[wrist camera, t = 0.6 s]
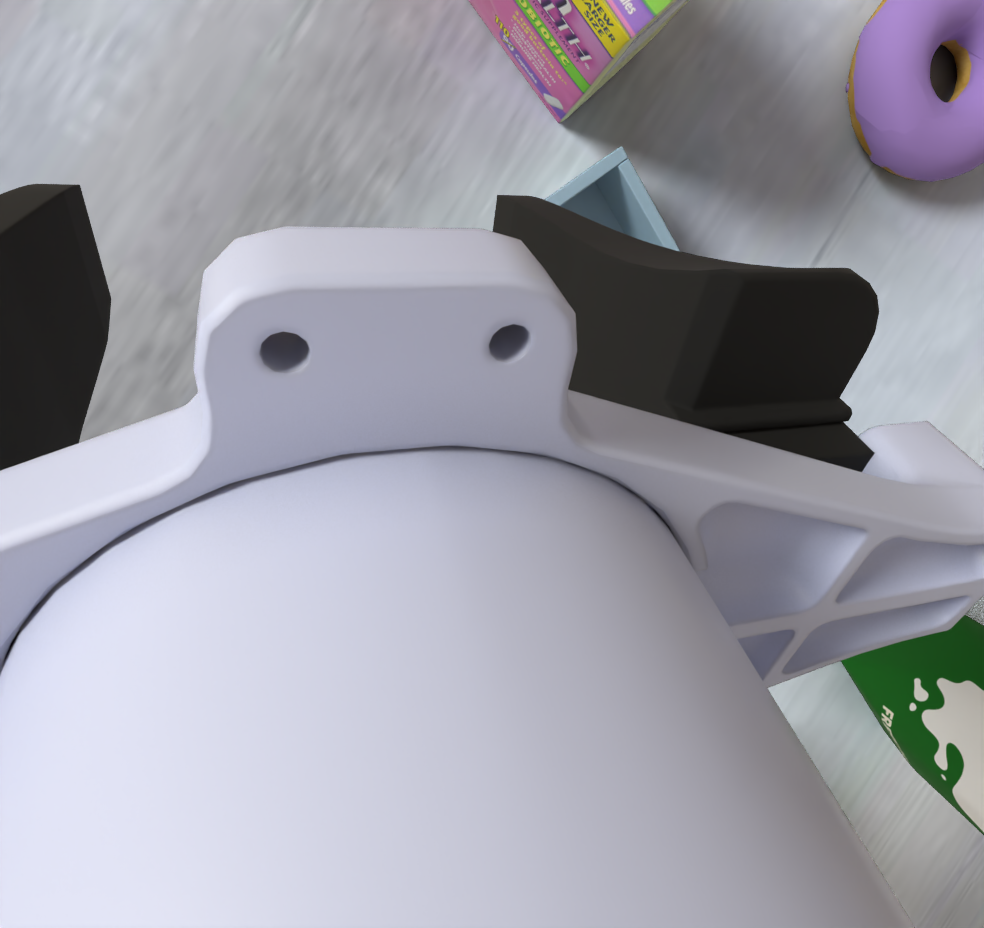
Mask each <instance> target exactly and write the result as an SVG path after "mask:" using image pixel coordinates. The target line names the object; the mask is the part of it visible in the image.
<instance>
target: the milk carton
mask: <svg viewBox="0 0 984 928" xmlns="http://www.w3.org/2000/svg"><path fill="white" fill-rule="evenodd" d="M841 662H842V663H843V665H844V667H845V668H846V670H847V672H848V673H849V675H850V676H851V678H852V680H853V681H854V683H855V684H856V686H857V688H858V689H859V691H860V693H861V694H862V696H863V697H864V699H865V701H866V702H867V704H868V705H869V707H870V709H871V710H872V712H873V714H874V715H875V717H876V718H877V720H878V722H879V723H880V725H881V726H882V728H883V730H884V731H885V732H886V734H887V735H888V736H889V738H890V739H891V740H892V742H893V743H894V744H895V746H896V747H897V748H898V750H899V751H900V752H901V754H902V755H903V756H904V758H905V759H906V760H907V761H908V763H909V764H910V765H911V766H912V767H913V768H914V769H915V771H916V772H917V773H918V774H919V775H921V776H922V777H923V778H924V779H925V780H926V781H927V782H928V783H929V784H930V785H931V786H932V787H933V788H934V789H935V790H936V791H937V792H939V793H940V794H941V795H942V796H943V797H944V798H945V799H946V800H947V801H948V802H949V803H950V804H951V805H952V806H953V807H954V808H956V809H957V810H958V811H959V812H960V813H961V814H962V815H963V816H964V817H965V818H966V819H967V820H968V821H969V822H970V823H971V824H973V825H974V826H975V827H976V828H977V829H978V830H979V831H980V832H981V833H982V834H983V835H984V626H983V625H981V624H980V623H978V622H976V621H975V620H973V619H971V618H970V617H968V616H966V615H964V616H963V617H962V618H961V619H960V620H959V621H958V622H957V623H956V624H955V625H954V626H953V627H952V628H951V629H949V630H947V631H943V632H938V633H934V634H930V635H926V636H922V637H917V638H913V639H909V640H905V641H901V642H898V643H894V644H891V645H888V646H884V647H881V648H878V649H874V650H871V651H868V652H864V653H861V654H858V655H855V656H853V657H850V658H847V659H844V660H841Z"/></svg>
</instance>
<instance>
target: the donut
mask: <svg viewBox="0 0 984 928" xmlns="http://www.w3.org/2000/svg"><path fill="white" fill-rule="evenodd" d="M940 44H941V45H943V46H946V48H947V49H948V50H949V51H950V52H951V53H952V54H953V55H954V59H955V62H956V66H957V81H956V85H955V89H954V93H953V95H952V97H951V98H950V100H949V101H948V102H943V101H941V100H940V99H939V98H938V97H937V95H936V93H935V91H934V89H933V87H932V85H931V80H930V65H931V61H932V58H933V55H934V53H935V51H936V49H937V48H938V47H939V46H940ZM846 92H848V103H849V111H850V117H851V123H852V127H853V129H854V132H855V134H856V136H857V138H858V140H859V142H860V144H861V145H862V147H863V149H864V150H865V151H866V153H867V154H868V155H869V156H870V160H871V161H872V162H873V163H875V164H876V165H878V166H881V167H882V168H884V169H885V170H886V171H888V172H890V173H892V174H895V175H898V176H901V177H904V178H907V179H911V180H920V181H930V182H932V181H937V180H942V179H948V178H953V177H955V176H958V175H961V174H963V173H966V172H968V171H971V170H972V169H974V168H975V167H977V166H979V165H980V164H982V163H984V0H883V1H882V2H881V4H880V5H879V7H878V8H877V9H876V11H875V12H874V14H873V15H872V16H871V18H870V19H869V21H868V22H867V24H866V26H865V27H864V29H863V31H862V33H861V35H860V36H859V41H858V43H857V46H856V49H855V52H854V55H853V58H852V62H851V67H850V72H849V77H848V83H847V85H846Z"/></svg>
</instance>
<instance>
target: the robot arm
mask: <svg viewBox="0 0 984 928" xmlns="http://www.w3.org/2000/svg"><path fill="white" fill-rule="evenodd" d="M110 307H111V296H110V293H109V289H108V285H107V282H106V278H105V275H104V271H103V267H102V264H101V260H100V256H99V253H98V249H97V246H96V242H95V238H94V235H93V231H92V228H91V224H90V220H89V217H88V213H87V209H86V206H85V202H84V199H83V195H82V191H81V188H80V185H60V184H32V185H27V186H23V187H19V188H16V189H14V190H11V191H8V192H6V193H3V194H1V195H0V928H915V927H914V925H913V923H912V922H911V920H910V919H909V917H908V915H907V914H906V912H905V911H904V909H903V907H902V906H901V904H900V902H899V901H898V899H897V898H896V896H895V894H894V893H893V891H892V889H891V888H890V886H889V885H888V883H887V881H886V880H885V878H884V877H883V875H882V873H881V872H880V870H879V868H878V867H877V865H876V864H875V862H874V860H873V859H872V857H871V855H870V854H869V852H868V851H867V849H866V847H865V846H864V844H863V843H862V841H861V839H860V838H859V836H858V834H857V833H856V831H855V830H854V828H853V826H852V825H851V823H850V821H849V820H848V818H847V817H846V815H845V813H844V812H843V810H842V809H841V807H840V805H839V804H838V802H837V800H836V799H835V797H834V796H833V794H832V792H831V791H830V789H829V787H828V786H827V784H826V783H825V781H824V779H823V778H822V776H821V775H820V773H819V771H818V770H817V768H816V766H815V765H814V763H813V762H812V760H811V758H810V757H809V755H808V753H807V752H806V750H805V749H804V747H803V745H802V744H801V742H800V741H799V739H798V737H797V736H796V734H795V732H794V731H793V729H792V728H791V726H790V724H789V723H788V721H787V719H786V718H785V716H784V715H783V713H782V711H781V710H780V708H779V706H778V705H777V703H776V702H775V700H774V698H773V697H772V695H771V694H770V692H769V690H768V689H767V688H769V687H771V686H774V685H776V684H779V683H782V682H784V681H787V680H790V679H792V678H795V677H798V676H800V675H803V674H805V673H808V672H811V671H813V670H816V669H819V668H822V667H824V666H827V665H830V664H833V663H836V662H838V661H841V660H844V659H847V658H850V657H853V656H855V655H858V654H861V653H864V652H868V651H871V650H874V649H878V648H881V647H884V646H888V645H891V644H894V643H898V642H901V641H905V640H909V639H913V638H917V637H922V636H926V635H930V634H934V633H938V632H943V631H947V630H949V629H951V628H952V627H953V626H954V625H955V624H956V623H957V622H958V621H959V620H960V619H961V618H962V617H963V616H964V615H965V614H966V613H967V612H968V611H969V610H970V609H971V608H972V607H973V606H974V605H975V604H976V603H977V602H978V601H979V600H980V599H981V598H982V597H983V596H984V469H983V468H982V467H981V466H980V465H978V464H977V463H976V462H975V461H974V460H973V459H971V458H970V457H969V456H968V455H967V454H966V453H964V452H963V451H962V450H961V449H960V448H959V447H957V446H956V445H955V444H954V443H953V442H952V441H950V440H949V439H948V438H947V437H946V436H945V435H943V434H942V433H941V432H940V431H939V430H938V429H936V428H935V427H934V426H933V425H932V424H931V423H929V422H928V421H922V422H911V423H901V424H890V425H880V426H876V427H872V428H869V429H867V430H866V431H864V432H863V433H861V434H860V435H859V436H857V435H856V434H855V433H854V432H853V431H852V430H851V429H850V428H849V427H848V426H847V425H846V424H845V423H843V422H844V421H848V420H849V419H850V417H851V415H852V410H851V408H850V407H849V406H848V405H847V404H846V403H844V402H843V401H842V400H841V399H840V396H841V394H842V392H843V391H844V389H845V387H846V385H847V384H848V382H849V380H850V378H851V377H852V375H853V373H854V371H855V370H856V368H857V366H858V364H859V363H860V361H861V359H862V358H863V356H864V354H865V352H866V351H867V348H868V346H869V344H870V342H871V340H872V337H873V335H874V333H875V329H876V324H877V319H878V314H879V308H878V299H877V295H876V293H875V292H874V290H873V288H872V287H871V285H870V283H869V282H867V281H866V280H865V279H863V278H862V277H861V276H859V275H858V274H857V273H855V272H854V271H852V270H851V269H849V268H783V267H772V266H761V265H751V264H743V263H736V262H729V261H723V260H718V259H712V258H707V257H702V256H697V255H692V254H688V253H684V252H680V251H676V250H672V249H669V248H665V247H662V246H659V245H655V244H652V243H649V242H646V241H643V240H640V239H637V238H634V237H632V236H629V235H626V234H624V233H621V232H619V231H616V230H613V229H611V228H609V227H606V226H604V225H602V224H599V223H597V222H595V221H592V220H590V219H588V218H586V217H583V216H581V215H579V214H577V213H574V212H572V211H570V210H568V209H565V208H563V207H561V206H559V205H556V204H554V203H551V202H549V201H546V200H543V199H540V198H536V197H532V196H512V195H497V203H496V210H495V218H494V226H493V232H492V231H488V230H485V229H479V228H375V227H280V228H276V229H272V230H268V231H264V232H260V233H256V234H252V235H248V236H244V237H240V238H236V239H235V240H234V241H233V242H232V243H231V244H230V245H229V246H228V247H227V248H226V249H225V250H224V251H223V252H222V253H221V254H220V255H219V256H218V257H217V258H216V259H215V260H214V261H213V262H212V263H211V264H210V265H209V266H208V267H207V268H206V269H205V270H204V273H203V280H202V287H201V295H200V302H199V309H198V319H197V332H196V344H195V357H194V373H195V378H196V383H197V388H198V393H197V394H196V395H195V396H194V398H193V399H192V400H191V401H190V402H189V403H188V404H187V405H185V406H183V407H180V408H177V409H174V410H171V411H169V412H166V413H163V414H160V415H157V416H154V417H152V418H149V419H146V420H143V421H140V422H137V423H134V424H132V425H129V426H126V427H123V428H120V429H117V430H115V431H112V432H109V433H106V434H103V435H100V436H97V437H95V438H92V439H89V440H86V441H83V442H80V443H79V439H80V435H81V431H82V427H83V424H84V420H85V417H86V414H87V410H88V407H89V404H90V400H91V397H92V394H93V390H94V387H95V384H96V380H97V377H98V373H99V370H100V366H101V363H102V359H103V356H104V352H105V349H106V345H107V341H108V331H109V321H110Z"/></svg>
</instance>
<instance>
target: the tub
mask: <svg viewBox="0 0 984 928" xmlns="http://www.w3.org/2000/svg"><path fill="white" fill-rule="evenodd" d="M627 158H628V156H627V154H626V152H625V151H624V149H623V147H622V146H621V147H619V148H617V149H616V150H615V151H613V152H612V153H610V154H609V155H607V156H606V157H604V158H603V159H601V160H600V161H598V162H597V163H595V164H594V165H593V166H591V167H590V168H588V169H587V170H586V171H584V172H583V173H581V174H580V175H579V176H577V177H576V178H574V179H573V180H571V181H570V182H569V183H567V184H566V185H564V186H563V187H562V188H560V189H559V190H557V191H556V192H555V193H553V194H552V195H550V196H549V197H548V198H546V199H545V200H546V201H549V202H551V203H554V204H556V205H559V206H561V207H563V208H565V209H568V210H570V211H572V212H574V213H577V214H579V215H581V216H583V217H586V218H588V219H590V220H592V221H595V222H597V223H599V224H602V225H604V226H606V227H609V228H611V229H613V230H616V231H619V232H621V233H624V234H626V235H629V236H632V237H634V238H637V239H640V240H643V241H646V242H649V243H652V244H655V245H659V246H662V247H665V248H669V249H672V250H676V251H680V250H679V248H678V246H677V245H676V243H675V241H674V239H673V237H672V235H671V234H670V232H669V230H668V228H667V226H666V225H665V223H664V221H663V219H662V217H661V216H660V214H659V212H658V210H657V208H656V207H655V205H654V203H653V201H652V199H651V198H650V196H649V194H648V192H647V190H646V189H645V187H644V185H643V183H642V181H641V179H640V178H639V176H638V174H637V172H636V170H635V169H634V167H633V165H632V163H631V161H630V160H629V159H627Z"/></svg>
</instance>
